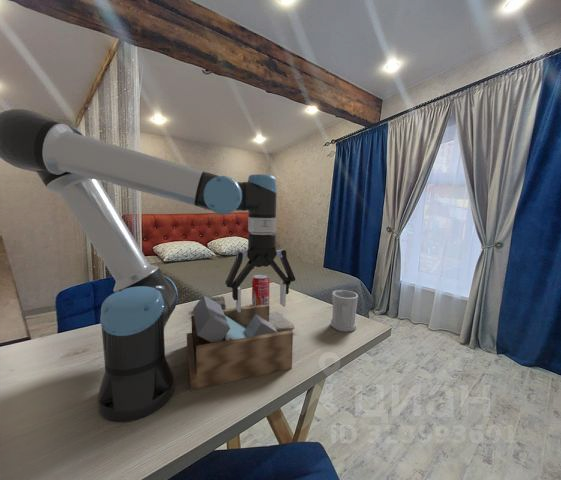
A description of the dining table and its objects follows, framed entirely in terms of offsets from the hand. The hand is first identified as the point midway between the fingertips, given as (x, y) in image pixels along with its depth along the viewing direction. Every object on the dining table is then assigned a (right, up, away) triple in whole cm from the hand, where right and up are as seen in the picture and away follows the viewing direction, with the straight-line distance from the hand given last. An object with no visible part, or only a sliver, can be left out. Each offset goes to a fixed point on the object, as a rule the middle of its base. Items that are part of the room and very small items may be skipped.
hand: (261, 307), depth 78 cm
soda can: (-3, -9, +36) cm, 37 cm away
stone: (+3, -11, +20) cm, 24 cm away
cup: (+28, -12, +19) cm, 36 cm away
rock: (-21, -9, +30) cm, 38 cm away
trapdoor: (-8, -8, -2) cm, 12 cm away
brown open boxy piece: (-7, -14, -1) cm, 15 cm away
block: (-2, -10, +1) cm, 10 cm away
